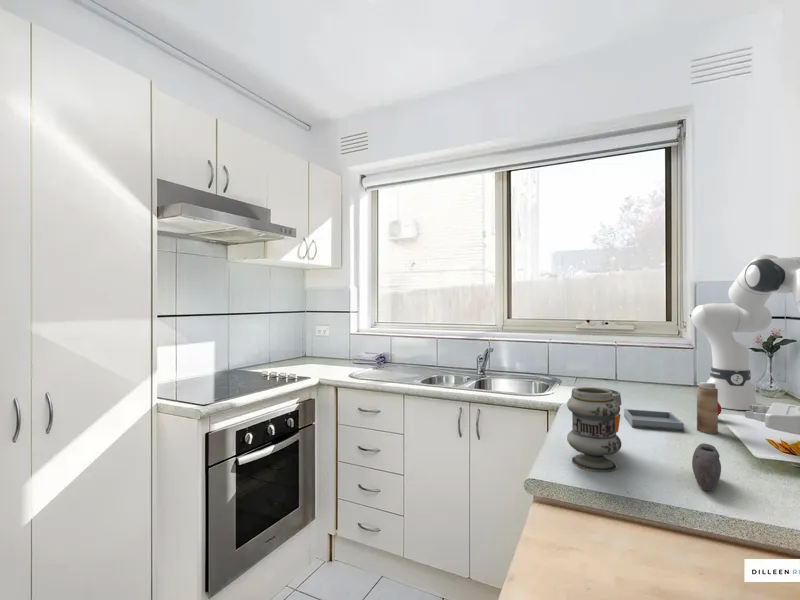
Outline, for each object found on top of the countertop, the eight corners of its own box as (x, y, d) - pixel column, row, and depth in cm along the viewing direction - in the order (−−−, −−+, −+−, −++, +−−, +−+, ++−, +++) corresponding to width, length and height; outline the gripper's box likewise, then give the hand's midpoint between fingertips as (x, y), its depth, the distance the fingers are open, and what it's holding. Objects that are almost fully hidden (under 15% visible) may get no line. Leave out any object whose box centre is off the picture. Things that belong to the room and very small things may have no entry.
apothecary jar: (575, 451, 112) (575, 383, 112) (626, 462, 104) (626, 389, 104) (560, 465, 103) (559, 390, 103) (614, 478, 95) (614, 397, 95)
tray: (624, 416, 147) (624, 408, 147) (670, 419, 143) (670, 412, 143) (632, 427, 134) (632, 419, 134) (683, 431, 129) (683, 423, 129)
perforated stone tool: (720, 499, 85) (720, 464, 85) (688, 492, 88) (688, 458, 88) (721, 475, 97) (721, 444, 97) (693, 469, 100) (693, 440, 100)
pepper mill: (694, 427, 133) (694, 381, 133) (714, 429, 132) (713, 382, 132) (700, 432, 128) (700, 384, 128) (720, 434, 127) (720, 385, 127)
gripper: (815, 402, 121) (752, 394, 131) (813, 415, 106) (742, 406, 116) (815, 424, 121) (752, 415, 131) (813, 441, 106) (742, 429, 116)
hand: (747, 410), depth 123 cm, fingers open, 8 cm apart
